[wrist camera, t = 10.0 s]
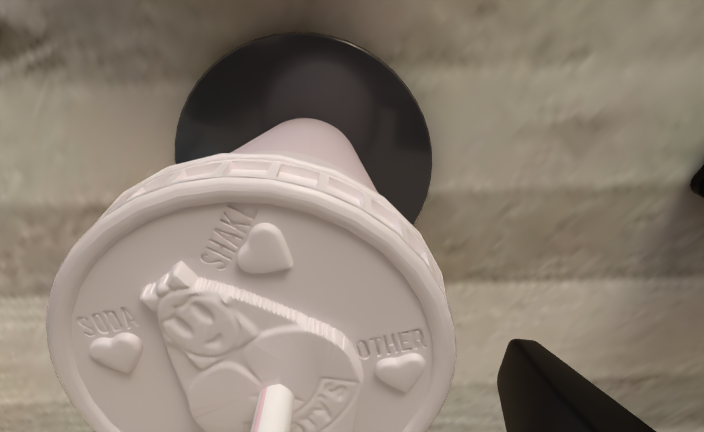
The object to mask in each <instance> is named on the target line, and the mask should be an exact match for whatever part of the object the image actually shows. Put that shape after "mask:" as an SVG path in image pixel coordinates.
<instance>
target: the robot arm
mask: <svg viewBox="0 0 704 432" xmlns="http://www.w3.org/2000/svg"><path fill="white" fill-rule="evenodd" d="M690 186H691V190H692V191H693V192H694V193H696V194H697V195H699V196H701V197H703V198H704V165H703V166H702V167H701V168H700V170H699V171H698V172H697V173H696V174H695V175H694V177H693V178H692V180H691V184H690ZM497 386H498V391H499V396H500V401H501V406H502V411H503V416H504V421H505V425H506V430H507V432H656V431H655V430H653V429H652V428H651V427H649V426H648V425H647V424H645V423H644V422H643V421H641V420H640V419H639V418H637V417H636V416H635V415H633V414H632V413H631V412H629V411H628V410H627V409H625V408H624V407H623V406H621V405H620V404H619V403H617V402H616V401H615V400H613V399H612V398H611V397H609V396H608V395H607V394H605V393H604V392H603V391H601V390H600V389H599V388H597V387H596V386H595V385H594V384H592V383H591V382H590V381H588V380H587V379H586V378H584V377H583V376H582V375H580V374H579V373H578V372H576V371H575V370H574V369H572V368H571V367H570V366H568V365H567V364H566V363H564V362H563V361H562V360H560V359H559V358H558V357H556V356H555V355H554V354H552V353H551V352H550V351H548V350H547V349H546V348H544V347H543V346H542V345H540V344H539V343H538V342H536V341H533V340H524V339H513V340H511V341H510V342H509V344H508V346H507V349H506V352H505V355H504V358H503V361H502V364H501V366H500V369H499V372H498V377H497Z"/></svg>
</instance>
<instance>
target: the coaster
mask: <svg viewBox="0 0 704 432" xmlns="http://www.w3.org/2000/svg"><path fill="white" fill-rule="evenodd" d="M297 118H311V119H317V120H320V121H323V122H326V123H328V124H330V125H332V126H334V127H335V128H337V129H338V130H339V131H340V132H342V133H343V134H344V135H345V136H346V138H347V139H348V140H349V141H350V143H351V144H352V146H353V148H354V150H355V152H356V154H357V155H358V157H359V159H360V161H361V163H362V165H363V166H364V168H365V170H366V172H367V174H368V176H369V177H370V179H371V181H372V183H373V185H374V187H375V188H376V190H377V192H378V194H380V195H381V196H383V197H385V198H386V199H387V200H388V201H389V202H390V203H391V204H392V205H393V206H394V207H395V208H396V209H397V210H398V211H399V212H400V213H401V214H402V215H403V216H404V217H405V218H406V219H407V220H408V221H409V222H410V223H411V224H412V225H413V224H414V222H415V220H416V218H417V217H418V215H419V213H420V211H421V209H422V207H423V204H424V201H425V199H426V196H427V193H428V188H429V184H430V180H431V170H432V149H431V143H430V137H429V132H428V128H427V125H426V122H425V119H424V116H423V114H422V112H421V110H420V108H419V106H418V103H417V101H416V100H415V98H414V96H413V95H412V93H411V92H410V90H409V89H408V87H407V86H406V85H405V83H404V82H403V81H402V80H401V79H400V78H399V77H398V75H397V74H396V73H395V72H394V71H393V70H392V69H391V68H390V67H389V66H387V65H386V64H385V63H384V62H383V61H382V60H381V59H379V58H378V57H376V56H375V55H373V54H372V53H370V52H369V51H367V50H366V49H364V48H362V47H360V46H358V45H356V44H353V43H351V42H349V41H347V40H343V39H340V38H337V37H334V36H331V35H325V34H319V33H313V32H288V33H279V34H273V35H270V36H266V37H262V38H258V39H255V40H253V41H250V42H248V43H246V44H243V45H241V46H239V47H237V48H235V49H234V50H232V51H231V52H229V53H227V54H226V55H224V56H223V57H221V58H220V59H219V60H218V61H217V62H216V63H214V64H213V65H212V66H211V67H210V68H209V69H208V70H207V71H206V72H205V73H204V74H203V76H202V77H201V78H200V79H199V80H198V82H197V83H196V85H195V86H194V88H193V89H192V91H191V92H190V94H189V96H188V98H187V100H186V102H185V105H184V107H183V109H182V112H181V115H180V119H179V122H178V126H177V132H176V139H175V163H176V164H180V163H184V162H188V161H192V160H196V159H200V158H204V157H208V156H213V155H217V154H221V153H231V152H233V151H234V150H236V149H238V148H240V147H241V146H243V145H245V144H246V143H248V142H250V141H251V140H253V139H255V138H256V137H258V136H260V135H262V134H263V133H265V132H267V131H268V130H270V129H272V128H273V127H275V126H277V125H279V124H281V123H283V122H285V121H288V120H292V119H297Z"/></svg>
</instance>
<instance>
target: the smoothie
mask: <svg viewBox="0 0 704 432" xmlns="http://www.w3.org/2000/svg"><path fill="white" fill-rule="evenodd" d="M46 331H47V342H48V347H49V352H50V356H51V360H52V363H53V366H54V369H55V372H56V374H57V377H58V379H59V381H60V383H61V385H62V387H63V389H64V391H65V392H66V394H67V396H68V397H69V399H70V401H71V403H72V405H73V406H74V407H75V408H76V410H77V411H78V412H79V413H80V414H81V416H82V417H83V418H84V419H85V420H86V422H87V423H88V424H89V425H90V426H91V428H92V429H93V430H94V431H95V432H426V431H427V429H428V428H429V427H430V426H431V424H432V423H433V421H434V420H435V418H436V417H437V415H438V414H439V412H440V410H441V408H442V406H443V404H444V402H445V400H446V397H447V395H448V392H449V390H450V387H451V383H452V379H453V375H454V370H455V362H456V338H455V330H454V324H453V320H452V316H451V312H450V309H449V306H448V303H447V297H446V292H445V287H444V281H443V276H442V272H441V271H440V269H439V267H438V265H437V263H436V261H435V260H434V258H433V256H432V254H431V252H430V250H429V249H428V247H427V245H426V243H425V241H424V239H423V238H422V236H421V234H420V232H419V231H418V230H417V229H416V228H415V227H414V226H413V225H412V224H411V223H410V222H409V221H408V220H407V219H406V218H405V217H404V216H403V215H402V214H401V213H400V212H399V211H398V210H397V209H396V208H395V207H394V206H393V205H392V204H391V203H390V202H389V201H388V200H387V199H386V198H385V197H383V196H381V195H380V194H378V192H377V190H376V188H375V187H374V185H373V183H372V181H371V179H370V177H369V176H368V174H367V172H366V170H365V168H364V166H363V165H362V163H361V161H360V159H359V157H358V155H357V154H356V152H355V150H354V148H353V146H352V144H351V143H350V141H349V140H348V139H347V138H346V136H345V135H344V134H343V133H342V132H340V131H339V130H338V129H337V128H335V127H334V126H332V125H330V124H328V123H326V122H323V121H320V120H317V119H311V118H297V119H292V120H288V121H285V122H283V123H281V124H279V125H277V126H275V127H273V128H272V129H270V130H268V131H267V132H265V133H263V134H262V135H260V136H258V137H256V138H255V139H253V140H251V141H250V142H248V143H246V144H245V145H243V146H241V147H240V148H238V149H236V150H234V151H233V152H231V153H221V154H217V155H213V156H208V157H204V158H200V159H196V160H192V161H188V162H184V163H180V164H176V165H172V166H168V167H166V168H164V169H162V170H161V171H159V172H157V173H155V174H154V175H152V176H150V177H149V178H147V179H145V180H143V181H142V182H140V183H138V184H136V185H135V186H133V187H131V188H130V189H128V190H126V191H124V192H123V193H121V195H120V196H119V197H118V198H117V199H116V200H115V201H114V202H113V203H112V205H111V206H110V207H109V208H108V209H107V210H106V211H105V212H104V214H103V215H102V216H101V217H100V218H99V219H98V220H97V221H96V222H95V224H94V225H93V226H91V227H90V228H89V229H88V230H87V231H86V232H85V233H84V234H83V235H82V236H81V237H80V239H79V240H78V241H77V242H76V243H75V244H74V246H73V247H72V248H71V250H70V251H69V253H68V254H67V256H66V257H65V259H64V260H63V262H62V264H61V266H60V268H59V270H58V272H57V274H56V277H55V279H54V282H53V285H52V288H51V292H50V295H49V301H48V307H47V318H46Z"/></svg>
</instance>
